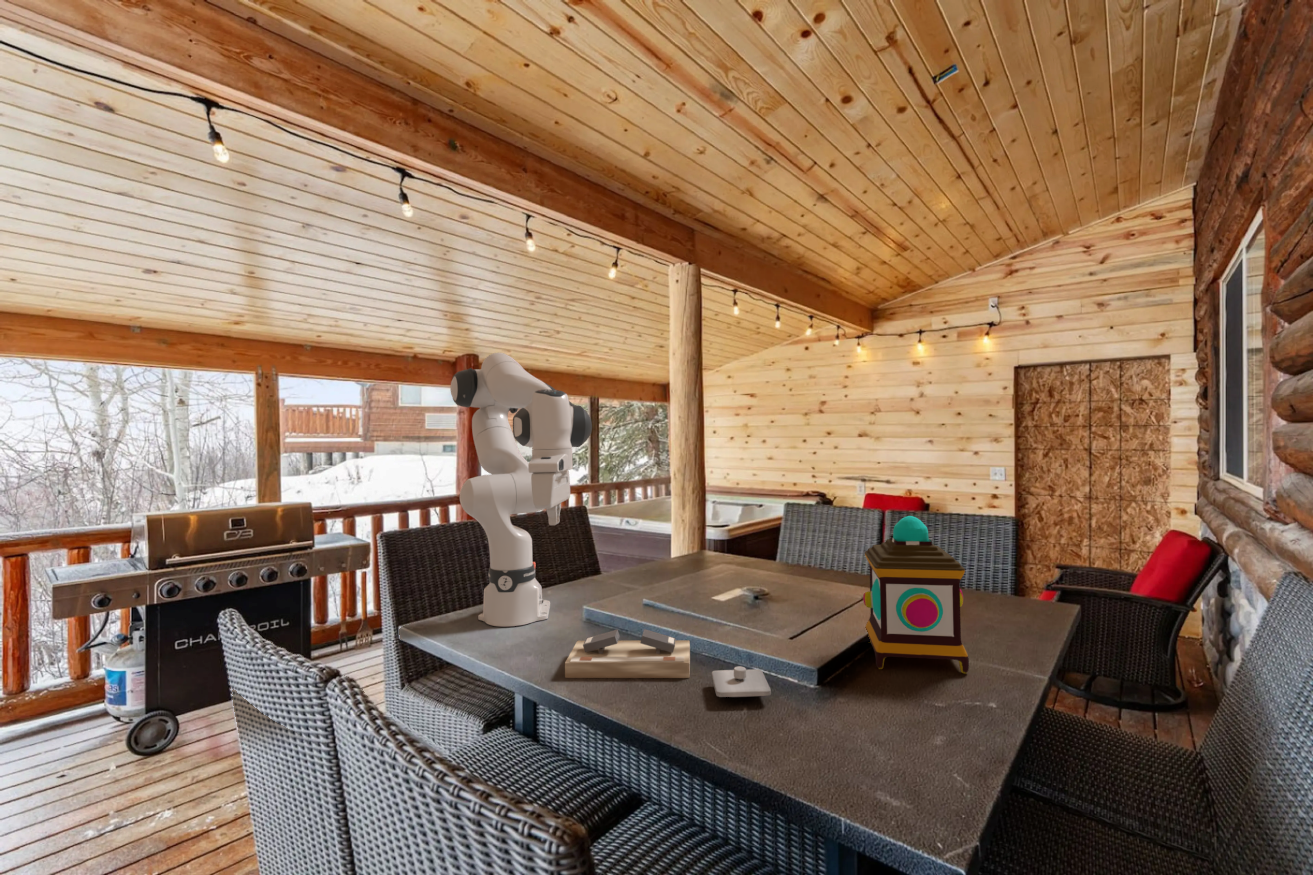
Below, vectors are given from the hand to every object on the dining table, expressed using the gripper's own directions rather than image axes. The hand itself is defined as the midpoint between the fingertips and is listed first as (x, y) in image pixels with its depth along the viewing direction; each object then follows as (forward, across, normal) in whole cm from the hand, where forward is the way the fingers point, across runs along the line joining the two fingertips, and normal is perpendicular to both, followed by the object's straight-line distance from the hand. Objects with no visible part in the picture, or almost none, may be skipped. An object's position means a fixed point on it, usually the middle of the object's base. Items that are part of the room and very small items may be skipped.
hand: (554, 524), depth 134 cm
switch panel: (+29, +6, +17) cm, 34 cm away
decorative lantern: (+30, +1, +77) cm, 82 cm away
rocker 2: (+24, +6, +23) cm, 34 cm away
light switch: (+30, +20, +39) cm, 53 cm away
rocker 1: (+24, +6, +11) cm, 27 cm away
